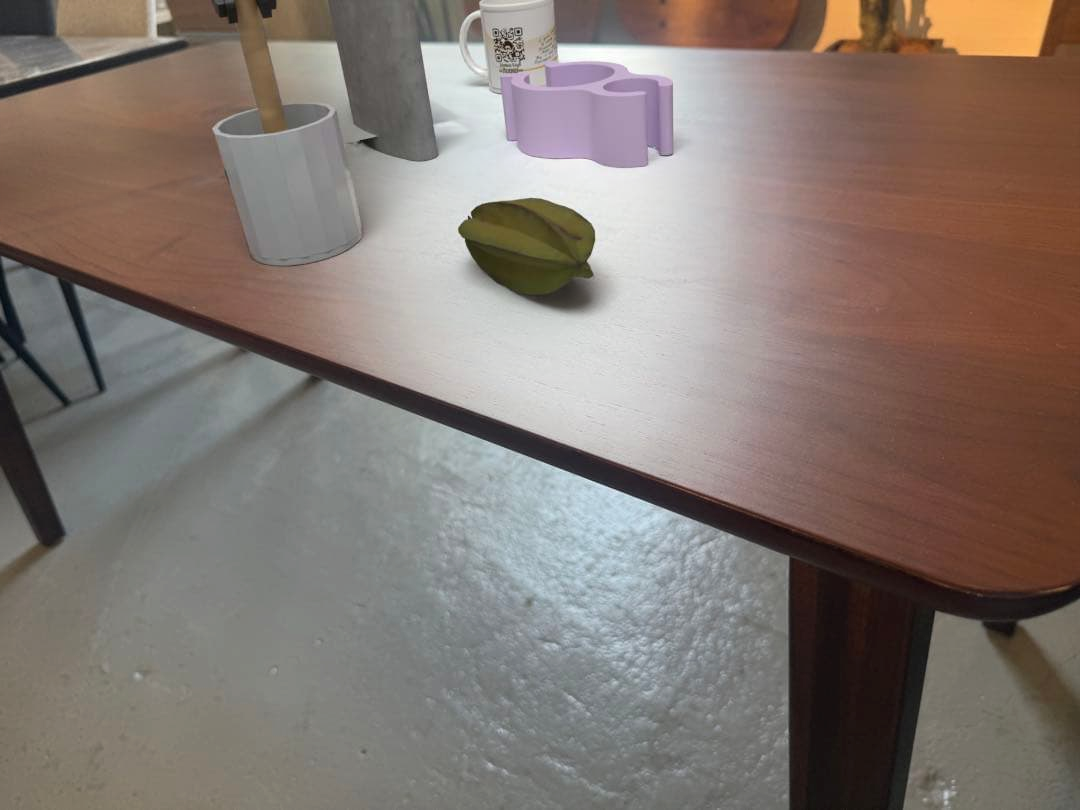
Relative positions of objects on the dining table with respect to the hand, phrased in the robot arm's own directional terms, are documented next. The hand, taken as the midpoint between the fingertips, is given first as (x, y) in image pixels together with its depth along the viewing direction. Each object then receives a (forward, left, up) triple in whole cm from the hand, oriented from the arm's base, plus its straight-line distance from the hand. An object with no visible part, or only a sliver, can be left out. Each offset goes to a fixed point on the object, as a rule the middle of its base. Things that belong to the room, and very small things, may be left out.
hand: (250, 12), depth 65 cm
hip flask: (+15, +25, -20) cm, 35 cm away
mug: (+38, +41, -20) cm, 59 cm away
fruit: (+13, -18, -20) cm, 30 cm away
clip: (+33, +10, -20) cm, 40 cm away
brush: (0, +2, -14) cm, 14 cm away
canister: (0, +2, -19) cm, 19 cm away
